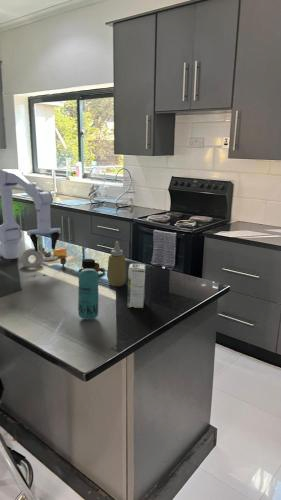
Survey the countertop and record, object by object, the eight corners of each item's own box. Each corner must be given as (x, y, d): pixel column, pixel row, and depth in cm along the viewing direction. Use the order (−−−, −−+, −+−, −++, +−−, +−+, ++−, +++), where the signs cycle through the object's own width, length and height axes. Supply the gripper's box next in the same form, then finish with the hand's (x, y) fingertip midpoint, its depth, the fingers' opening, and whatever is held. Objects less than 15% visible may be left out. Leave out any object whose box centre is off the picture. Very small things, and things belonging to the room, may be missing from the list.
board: (28, 259, 186) (28, 249, 185) (58, 254, 198) (57, 244, 197) (49, 268, 172) (49, 257, 171) (80, 262, 184) (80, 251, 183)
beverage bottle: (79, 315, 123) (78, 256, 118) (99, 315, 124) (99, 256, 119) (77, 324, 117) (76, 262, 112) (98, 323, 118) (98, 262, 113)
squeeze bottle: (129, 283, 156) (130, 241, 152) (120, 289, 149) (121, 245, 145) (112, 280, 159) (113, 238, 155) (103, 285, 152) (103, 242, 148)
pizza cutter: (43, 262, 176) (43, 254, 176) (33, 257, 183) (33, 250, 183) (70, 256, 187) (70, 250, 186) (59, 252, 194) (59, 246, 193)
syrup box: (128, 301, 136) (128, 263, 133) (144, 302, 136) (145, 263, 133) (127, 307, 131) (127, 267, 127) (143, 308, 131) (145, 268, 127)
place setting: (81, 282, 157) (81, 268, 156) (58, 270, 172) (57, 258, 170) (114, 274, 168) (115, 262, 167) (90, 264, 183) (90, 252, 182)
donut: (43, 267, 174) (42, 246, 172) (44, 269, 171) (43, 248, 169) (20, 269, 171) (19, 248, 168) (21, 271, 168) (20, 249, 165)
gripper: (29, 222, 156) (31, 253, 160) (62, 220, 164) (63, 250, 167) (25, 219, 162) (26, 250, 166) (57, 217, 170) (58, 246, 173)
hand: (44, 249), depth 167 cm, fingers open, 7 cm apart
